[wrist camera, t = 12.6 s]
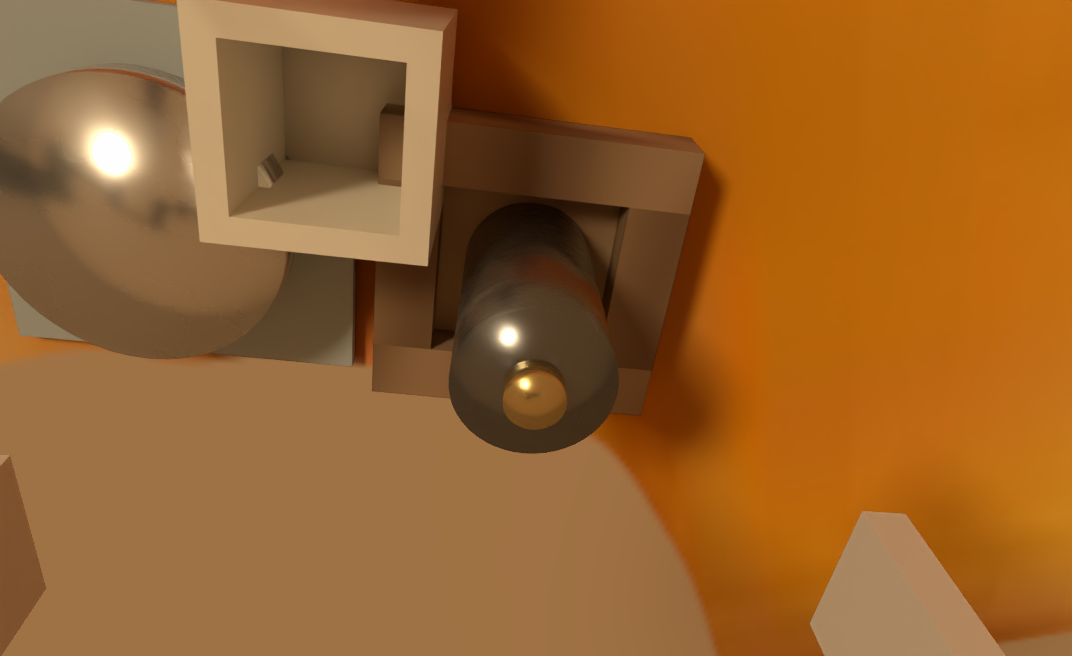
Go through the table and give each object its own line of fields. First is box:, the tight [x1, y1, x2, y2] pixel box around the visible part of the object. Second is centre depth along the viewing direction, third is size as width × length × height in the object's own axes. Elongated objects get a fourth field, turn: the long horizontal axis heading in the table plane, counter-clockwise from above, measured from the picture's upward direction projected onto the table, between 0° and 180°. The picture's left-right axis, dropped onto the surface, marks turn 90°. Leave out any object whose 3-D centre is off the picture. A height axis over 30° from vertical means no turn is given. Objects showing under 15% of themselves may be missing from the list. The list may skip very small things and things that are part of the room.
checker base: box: [0, 0, 356, 367], centre depth 24 cm, size 12×12×1 cm
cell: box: [449, 202, 619, 453], centre depth 22 cm, size 4×4×9 cm
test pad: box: [0, 63, 296, 359], centre depth 22 cm, size 9×9×2 cm
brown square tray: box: [372, 103, 705, 416], centre depth 25 cm, size 10×10×2 cm
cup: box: [177, 0, 458, 266], centre depth 21 cm, size 6×6×6 cm
